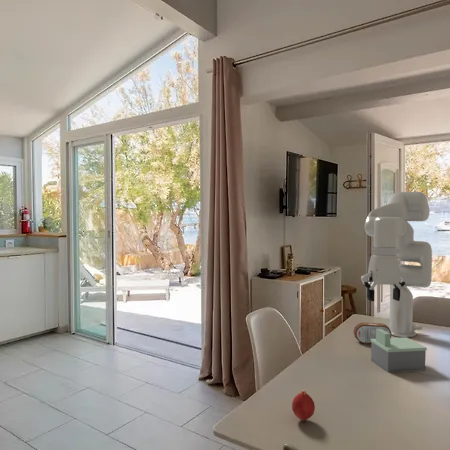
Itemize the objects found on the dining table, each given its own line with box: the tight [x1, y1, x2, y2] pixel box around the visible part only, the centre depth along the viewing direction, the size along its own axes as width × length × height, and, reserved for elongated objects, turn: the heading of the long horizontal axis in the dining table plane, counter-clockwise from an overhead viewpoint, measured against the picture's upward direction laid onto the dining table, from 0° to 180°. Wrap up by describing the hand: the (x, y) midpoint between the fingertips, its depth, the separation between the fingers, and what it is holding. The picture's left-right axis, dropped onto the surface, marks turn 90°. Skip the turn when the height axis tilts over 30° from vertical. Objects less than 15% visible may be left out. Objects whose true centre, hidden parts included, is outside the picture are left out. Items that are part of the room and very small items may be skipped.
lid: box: [371, 329, 428, 352], centre depth 140 cm, size 14×11×7 cm
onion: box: [291, 390, 316, 422], centre depth 101 cm, size 6×6×8 cm
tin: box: [353, 322, 392, 345], centre depth 164 cm, size 15×3×8 cm, turn 84°
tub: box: [370, 342, 427, 373], centre depth 140 cm, size 14×11×7 cm
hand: (383, 300), depth 138 cm, fingers open, 9 cm apart
